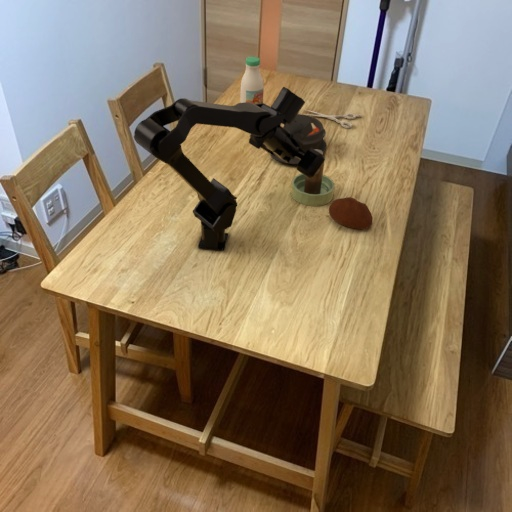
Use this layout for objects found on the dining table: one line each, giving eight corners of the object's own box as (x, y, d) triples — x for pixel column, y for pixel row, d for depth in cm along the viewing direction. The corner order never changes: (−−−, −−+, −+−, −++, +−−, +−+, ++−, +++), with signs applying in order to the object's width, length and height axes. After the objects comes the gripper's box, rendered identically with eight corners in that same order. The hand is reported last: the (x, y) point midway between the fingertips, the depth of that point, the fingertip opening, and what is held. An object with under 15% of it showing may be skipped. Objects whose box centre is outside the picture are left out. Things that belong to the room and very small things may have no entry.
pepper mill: (319, 199, 144) (325, 157, 136) (303, 197, 144) (307, 155, 136) (320, 190, 148) (325, 148, 139) (304, 188, 148) (308, 147, 139)
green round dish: (332, 209, 142) (334, 197, 139) (289, 205, 142) (290, 193, 140) (332, 186, 150) (334, 174, 148) (292, 182, 151) (293, 170, 149)
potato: (369, 238, 133) (374, 212, 127) (323, 229, 135) (327, 203, 130) (372, 220, 138) (378, 195, 133) (329, 212, 140) (332, 187, 135)
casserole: (317, 174, 155) (320, 148, 150) (256, 163, 159) (257, 138, 153) (332, 136, 174) (335, 112, 168) (277, 127, 177) (279, 103, 172)
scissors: (355, 127, 177) (298, 116, 181) (355, 129, 177) (297, 118, 182) (361, 114, 185) (306, 104, 189) (361, 116, 185) (306, 106, 190)
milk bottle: (237, 119, 181) (237, 61, 168) (244, 110, 186) (245, 53, 173) (258, 123, 179) (260, 64, 166) (265, 113, 185) (267, 56, 172)
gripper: (323, 124, 118) (350, 153, 131) (269, 95, 129) (299, 125, 142) (295, 165, 119) (324, 190, 132) (244, 134, 130) (275, 159, 143)
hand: (305, 164), depth 137 cm, fingers open, 9 cm apart
